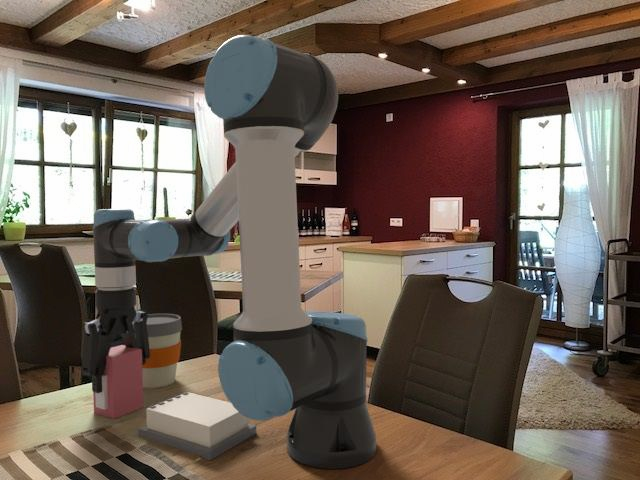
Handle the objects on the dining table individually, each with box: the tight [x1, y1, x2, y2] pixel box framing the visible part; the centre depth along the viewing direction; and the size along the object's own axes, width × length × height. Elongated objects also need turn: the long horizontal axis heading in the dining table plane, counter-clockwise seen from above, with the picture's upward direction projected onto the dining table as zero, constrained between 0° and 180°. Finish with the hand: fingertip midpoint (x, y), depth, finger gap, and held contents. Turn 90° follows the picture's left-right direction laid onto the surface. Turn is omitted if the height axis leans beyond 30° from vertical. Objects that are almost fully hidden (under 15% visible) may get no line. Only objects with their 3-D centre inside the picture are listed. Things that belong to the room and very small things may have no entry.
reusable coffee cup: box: [132, 313, 183, 389], centre depth 125 cm, size 13×13×15 cm
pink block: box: [92, 344, 144, 420], centre depth 107 cm, size 6×7×12 cm
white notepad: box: [138, 391, 257, 461], centre depth 96 cm, size 17×12×5 cm
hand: (118, 401), depth 107 cm, fingers closed on pink block, 7 cm apart
